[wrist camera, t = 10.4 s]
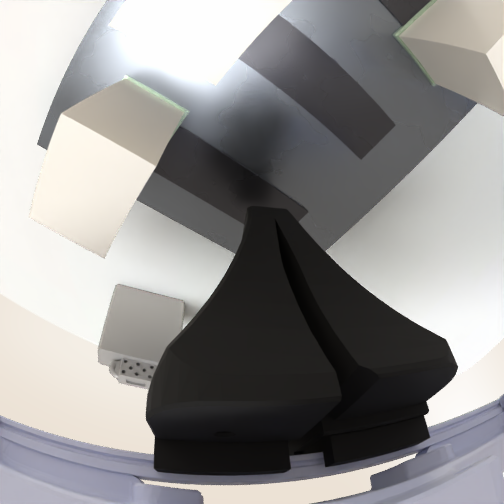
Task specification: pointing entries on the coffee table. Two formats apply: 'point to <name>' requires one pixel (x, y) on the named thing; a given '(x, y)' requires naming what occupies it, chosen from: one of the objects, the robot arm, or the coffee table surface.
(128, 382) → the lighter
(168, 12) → the switch
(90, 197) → the switch
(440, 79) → the switch
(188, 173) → the switch unit
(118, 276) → the coffee table surface
